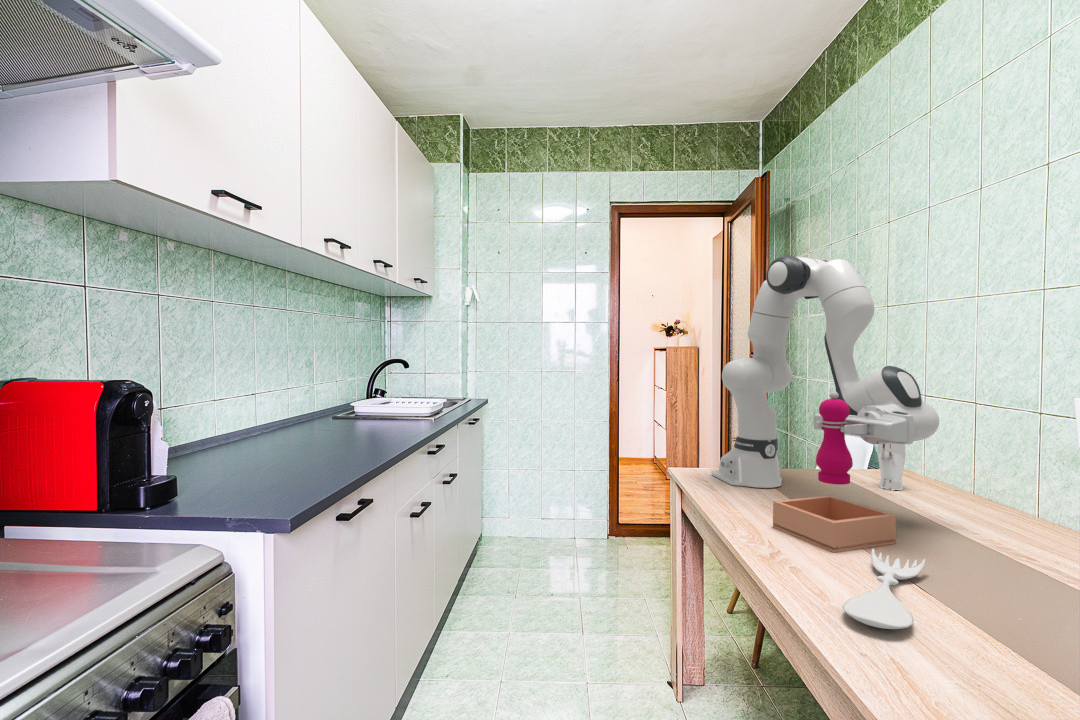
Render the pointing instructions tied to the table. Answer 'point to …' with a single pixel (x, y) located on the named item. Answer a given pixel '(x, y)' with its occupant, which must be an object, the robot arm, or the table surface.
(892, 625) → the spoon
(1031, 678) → the table surface
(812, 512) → the crate
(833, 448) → the pepper mill
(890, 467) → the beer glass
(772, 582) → the table surface
